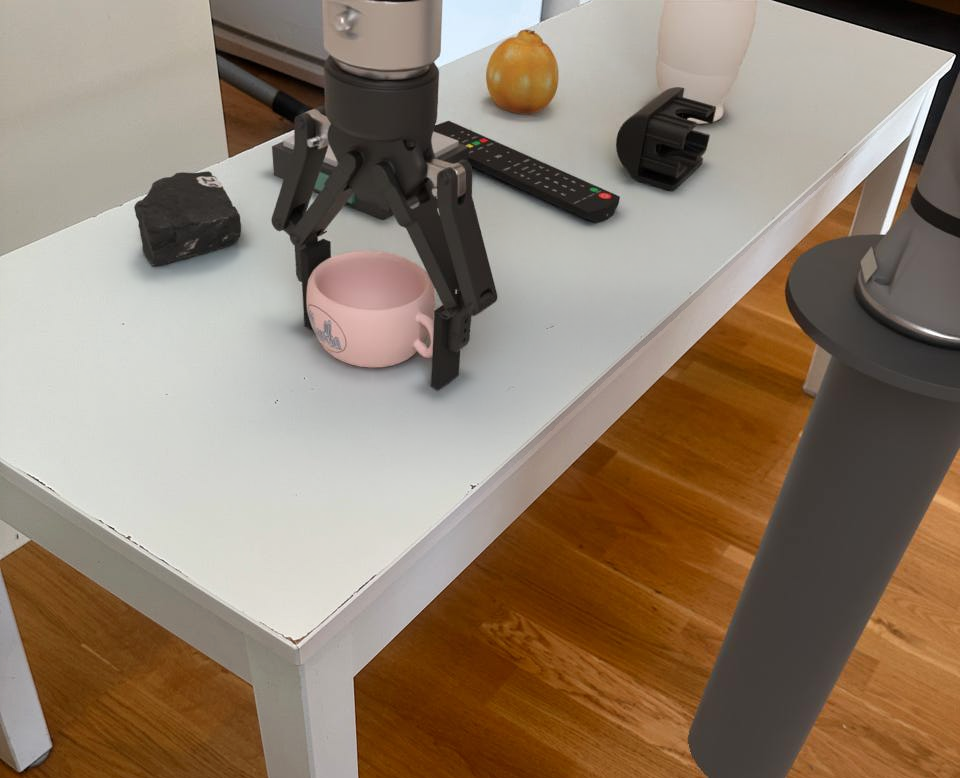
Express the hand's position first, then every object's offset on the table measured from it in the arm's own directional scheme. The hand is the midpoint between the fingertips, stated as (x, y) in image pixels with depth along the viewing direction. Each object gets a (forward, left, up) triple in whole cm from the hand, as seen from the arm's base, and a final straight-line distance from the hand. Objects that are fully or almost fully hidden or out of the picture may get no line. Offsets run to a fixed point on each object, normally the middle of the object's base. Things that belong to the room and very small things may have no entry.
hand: (380, 350), depth 82 cm
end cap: (0, -48, 0) cm, 48 cm away
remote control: (+10, -35, 0) cm, 36 cm away
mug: (0, 0, 0) cm, 0 cm away
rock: (+23, -2, 0) cm, 23 cm away
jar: (+5, -65, 0) cm, 65 cm away
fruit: (+20, -51, 0) cm, 55 cm away
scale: (+21, -25, 0) cm, 33 cm away
